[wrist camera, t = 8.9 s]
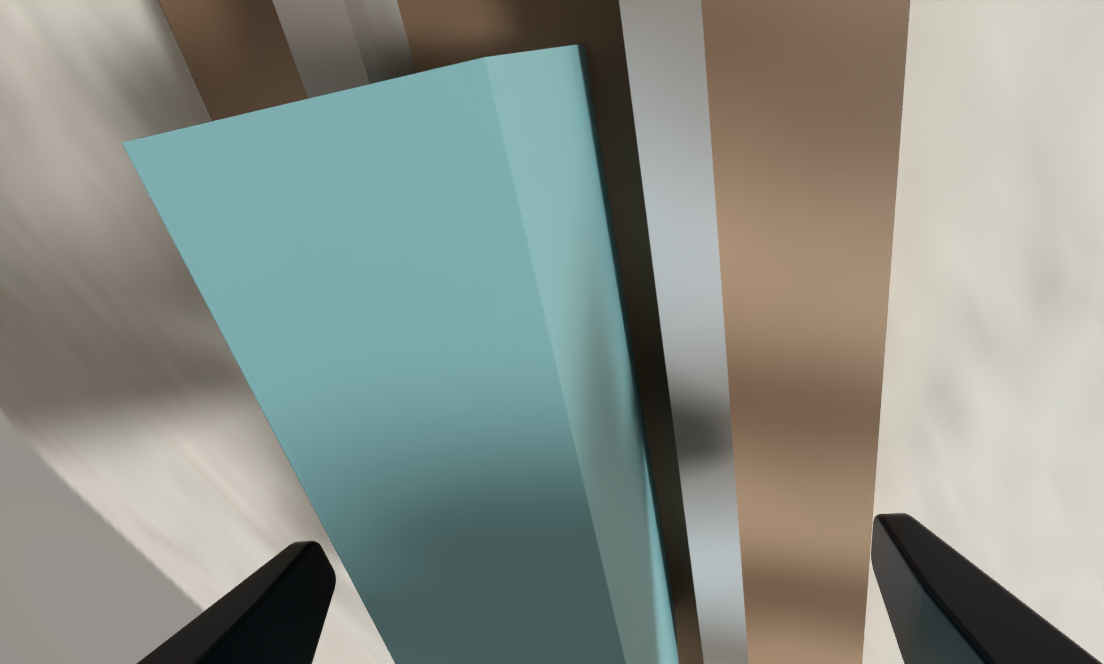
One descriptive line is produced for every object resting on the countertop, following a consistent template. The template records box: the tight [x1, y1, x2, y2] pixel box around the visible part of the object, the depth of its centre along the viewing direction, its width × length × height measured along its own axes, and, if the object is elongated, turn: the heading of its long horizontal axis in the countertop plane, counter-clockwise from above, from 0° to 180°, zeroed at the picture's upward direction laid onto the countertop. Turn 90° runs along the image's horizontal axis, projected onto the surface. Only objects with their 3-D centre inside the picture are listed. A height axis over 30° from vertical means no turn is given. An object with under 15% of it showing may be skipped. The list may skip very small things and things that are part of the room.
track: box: [159, 0, 910, 664], centre depth 12 cm, size 22×12×3 cm, turn 12°
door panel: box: [122, 44, 679, 664], centre depth 9 cm, size 14×2×7 cm, turn 12°
